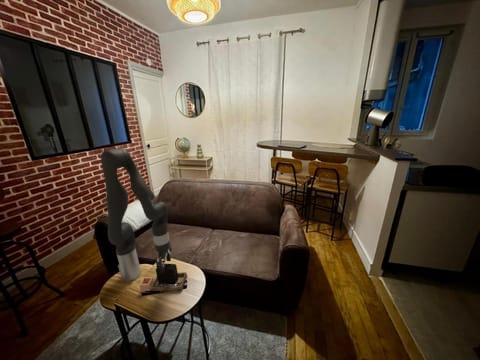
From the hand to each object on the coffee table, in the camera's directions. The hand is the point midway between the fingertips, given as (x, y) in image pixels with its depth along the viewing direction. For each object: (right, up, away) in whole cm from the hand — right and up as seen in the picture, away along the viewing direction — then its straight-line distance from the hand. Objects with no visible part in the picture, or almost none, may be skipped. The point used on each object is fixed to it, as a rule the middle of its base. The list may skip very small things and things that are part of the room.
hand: (165, 266), depth 103 cm
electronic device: (0, -10, +5) cm, 11 cm away
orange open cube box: (-10, -12, +1) cm, 16 cm away
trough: (+1, -11, +3) cm, 12 cm away
